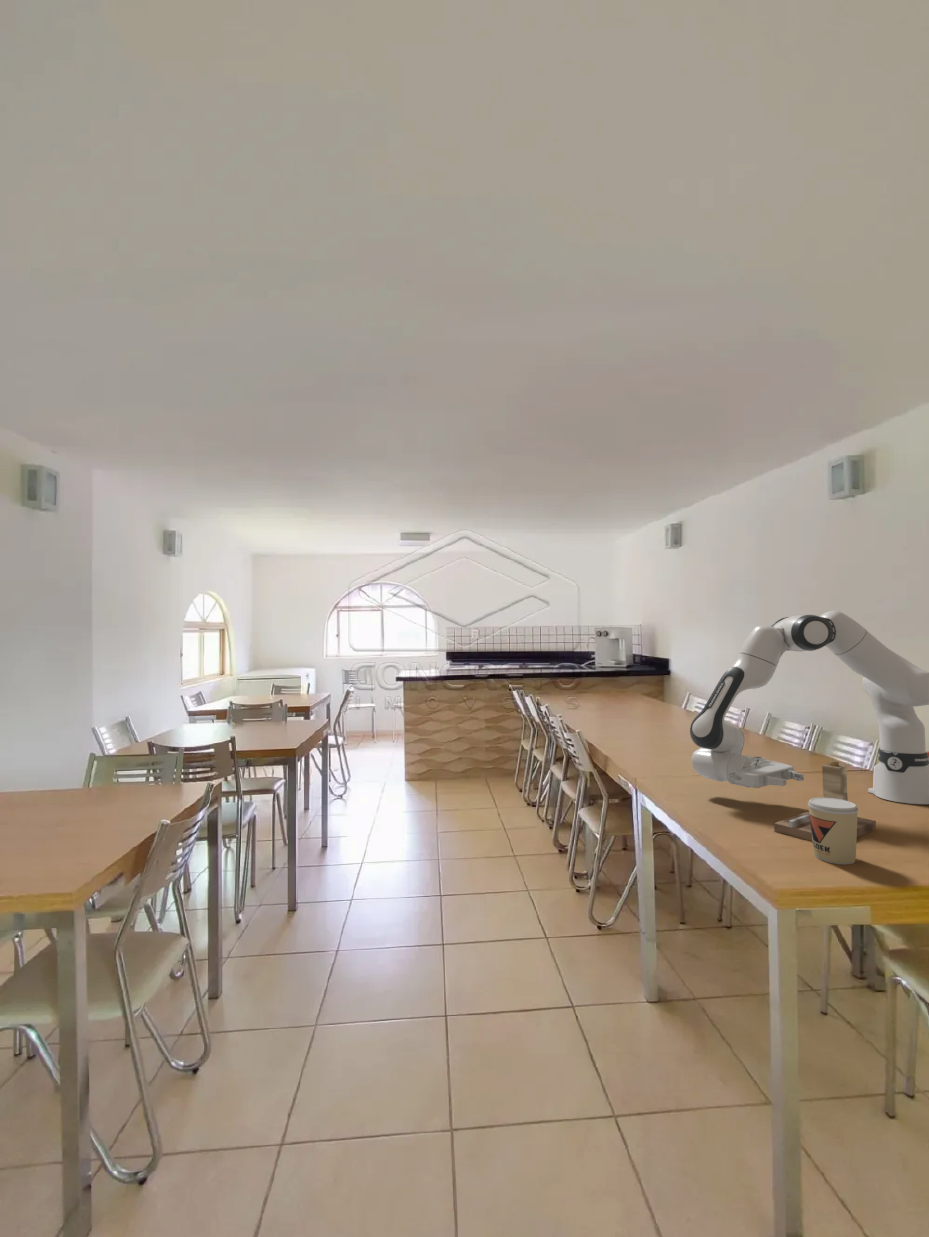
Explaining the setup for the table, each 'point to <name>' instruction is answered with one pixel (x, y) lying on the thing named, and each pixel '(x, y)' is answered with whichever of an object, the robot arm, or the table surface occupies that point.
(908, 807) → the table surface
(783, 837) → the table surface
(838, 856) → the coffee cup
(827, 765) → the beige tall block
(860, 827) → the board
